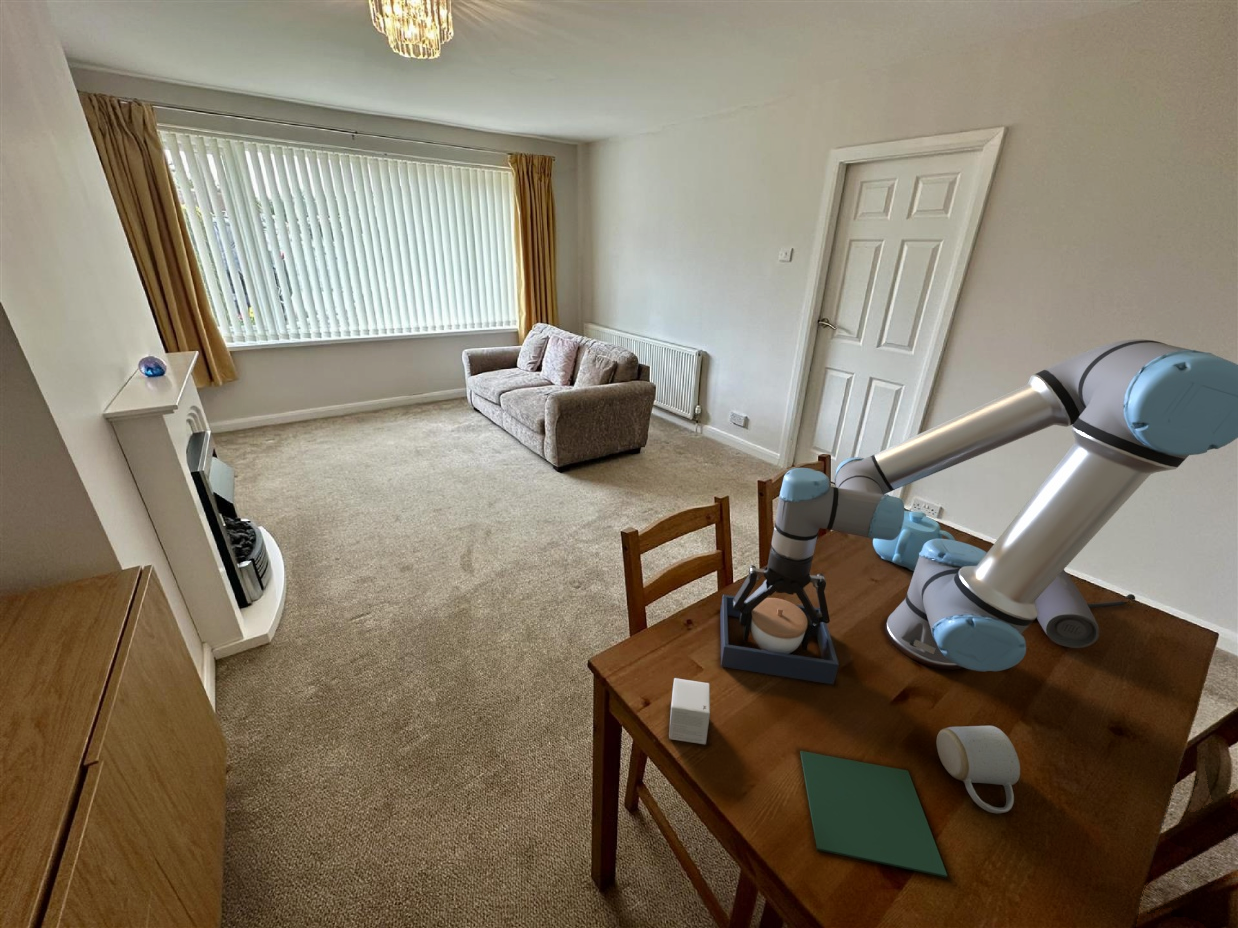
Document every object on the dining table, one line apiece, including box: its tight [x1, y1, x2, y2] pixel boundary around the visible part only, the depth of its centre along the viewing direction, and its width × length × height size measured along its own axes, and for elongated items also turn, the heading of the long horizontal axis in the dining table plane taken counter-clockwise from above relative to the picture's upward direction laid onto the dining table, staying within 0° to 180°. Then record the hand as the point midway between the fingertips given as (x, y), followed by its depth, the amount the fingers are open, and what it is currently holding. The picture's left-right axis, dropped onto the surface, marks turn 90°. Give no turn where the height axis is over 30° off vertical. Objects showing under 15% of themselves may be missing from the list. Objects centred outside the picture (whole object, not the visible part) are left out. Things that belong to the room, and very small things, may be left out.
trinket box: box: [750, 597, 808, 654], centre depth 96 cm, size 11×11×9 cm
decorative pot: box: [872, 510, 956, 572], centre depth 126 cm, size 16×16×14 cm
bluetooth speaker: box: [1035, 569, 1100, 649], centre depth 106 cm, size 23×9×10 cm, turn 154°
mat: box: [799, 750, 948, 878], centre depth 69 cm, size 16×14×1 cm
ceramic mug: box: [935, 725, 1021, 814], centre depth 72 cm, size 11×8×8 cm
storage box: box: [719, 594, 840, 685], centre depth 97 cm, size 21×16×5 cm
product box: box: [668, 677, 711, 745], centre depth 79 cm, size 6×6×7 cm
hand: (774, 641), depth 97 cm, fingers closed on trinket box, 11 cm apart
